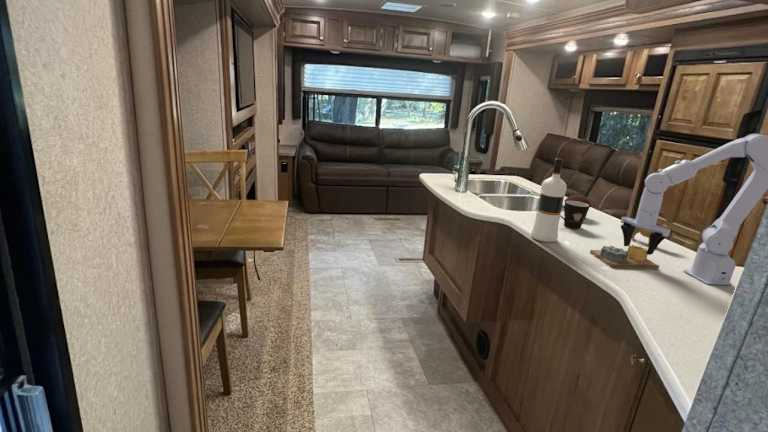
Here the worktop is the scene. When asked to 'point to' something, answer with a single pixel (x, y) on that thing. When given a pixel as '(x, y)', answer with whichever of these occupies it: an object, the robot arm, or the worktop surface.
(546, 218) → the vodka
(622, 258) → the gear board
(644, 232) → the lion figurine
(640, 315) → the worktop surface
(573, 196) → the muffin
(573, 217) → the coffee mug
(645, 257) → the ochre gear
